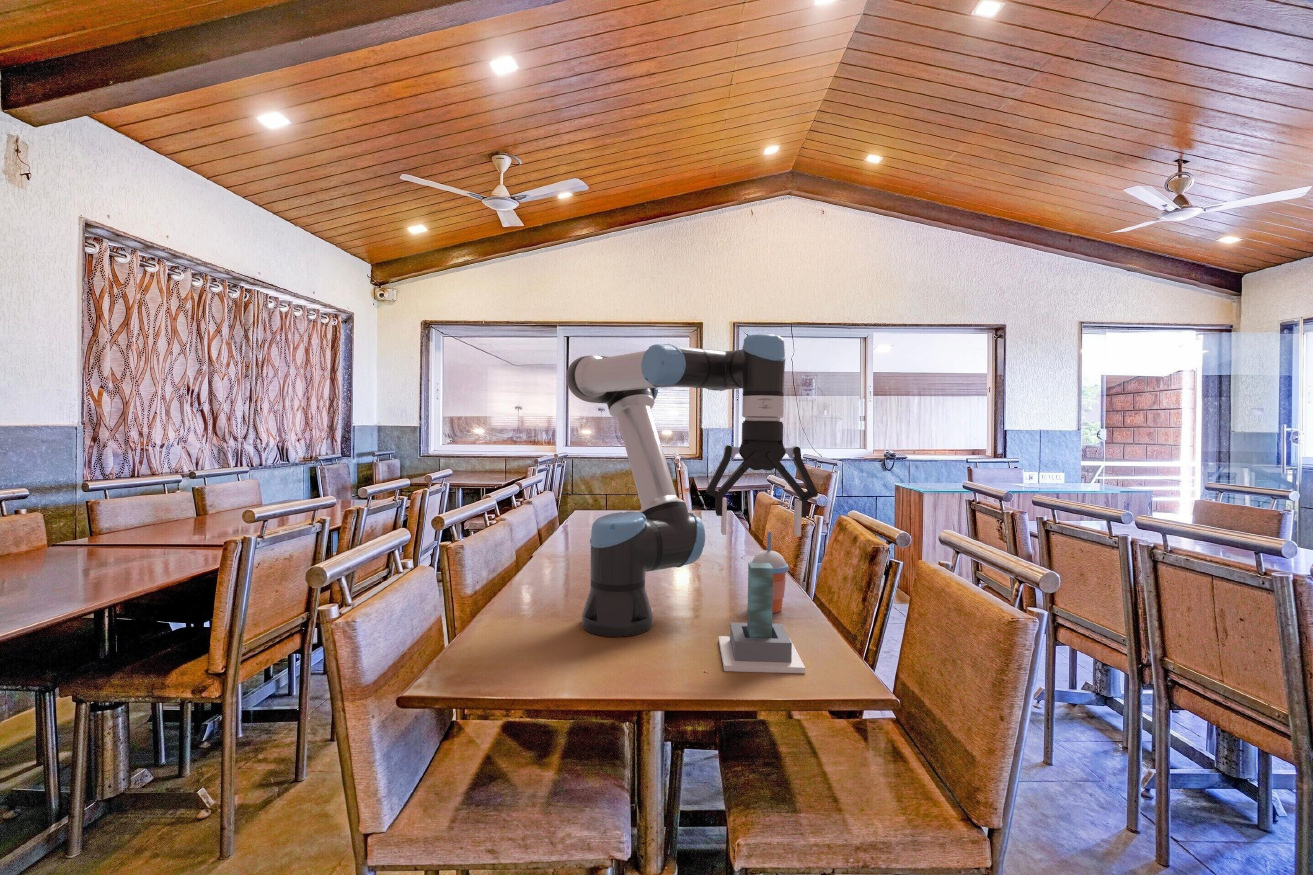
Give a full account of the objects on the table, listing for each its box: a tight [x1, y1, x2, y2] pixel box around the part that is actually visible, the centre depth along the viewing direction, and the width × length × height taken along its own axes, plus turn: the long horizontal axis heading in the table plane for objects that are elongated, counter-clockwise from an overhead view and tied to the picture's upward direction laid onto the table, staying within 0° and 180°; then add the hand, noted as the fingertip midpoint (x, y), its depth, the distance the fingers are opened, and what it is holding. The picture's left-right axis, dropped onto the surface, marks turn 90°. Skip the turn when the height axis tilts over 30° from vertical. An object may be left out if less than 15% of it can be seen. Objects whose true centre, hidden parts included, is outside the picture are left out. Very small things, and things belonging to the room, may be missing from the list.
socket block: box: [718, 621, 806, 674], centre depth 108 cm, size 14×14×4 cm
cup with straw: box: [749, 531, 790, 614], centre depth 136 cm, size 9×9×18 cm
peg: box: [746, 562, 773, 638], centre depth 108 cm, size 4×4×16 cm
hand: (760, 534), depth 108 cm, fingers open, 13 cm apart
